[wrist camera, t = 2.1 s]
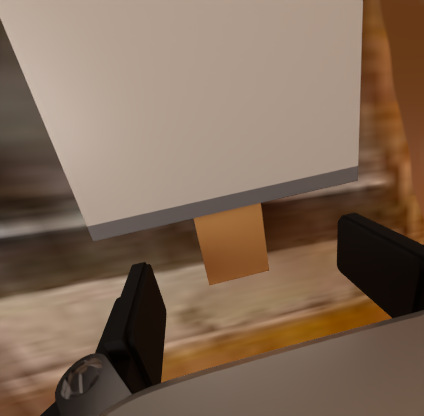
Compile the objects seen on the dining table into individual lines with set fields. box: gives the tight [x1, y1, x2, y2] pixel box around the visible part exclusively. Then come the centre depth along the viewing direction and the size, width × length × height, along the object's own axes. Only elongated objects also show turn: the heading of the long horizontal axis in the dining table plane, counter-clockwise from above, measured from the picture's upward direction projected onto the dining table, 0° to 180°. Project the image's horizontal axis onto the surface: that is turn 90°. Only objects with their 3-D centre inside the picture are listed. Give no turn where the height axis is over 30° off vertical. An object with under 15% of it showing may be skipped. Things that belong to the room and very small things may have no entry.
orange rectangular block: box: [194, 203, 269, 285], centre depth 15 cm, size 4×12×6 cm, turn 11°
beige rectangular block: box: [0, 0, 363, 241], centre depth 13 cm, size 14×13×8 cm
